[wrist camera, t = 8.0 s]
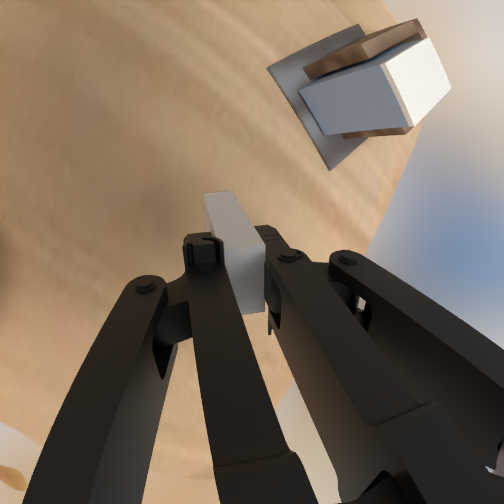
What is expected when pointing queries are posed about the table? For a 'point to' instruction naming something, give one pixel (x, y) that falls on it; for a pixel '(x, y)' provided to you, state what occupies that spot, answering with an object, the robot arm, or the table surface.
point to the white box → (379, 90)
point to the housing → (329, 59)
